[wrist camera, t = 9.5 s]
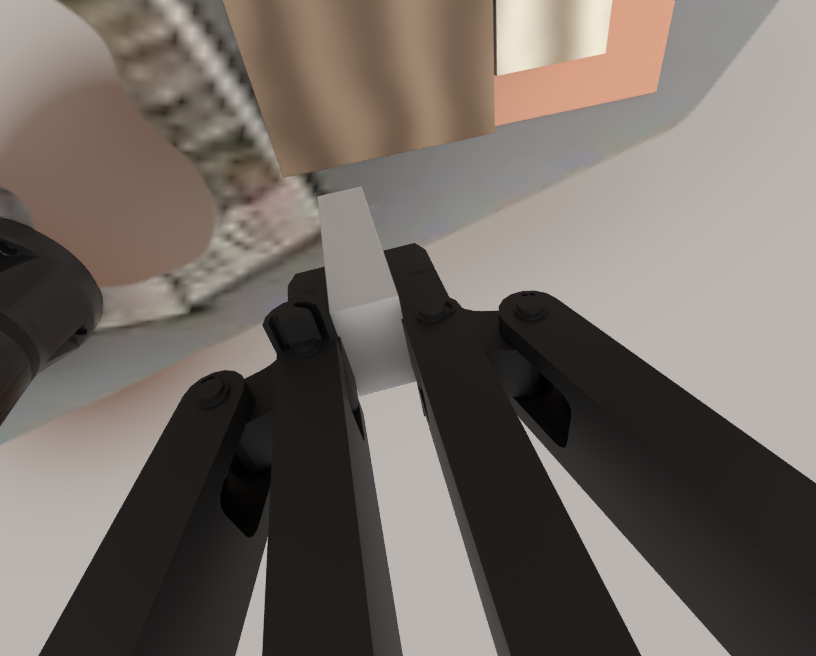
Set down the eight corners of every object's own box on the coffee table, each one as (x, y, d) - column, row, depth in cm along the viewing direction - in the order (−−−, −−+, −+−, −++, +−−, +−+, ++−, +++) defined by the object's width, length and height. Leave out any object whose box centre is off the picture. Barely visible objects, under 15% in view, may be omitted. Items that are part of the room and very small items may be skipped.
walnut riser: (286, 162, 38) (283, 177, 35) (217, -44, 29) (206, -48, 26) (480, 121, 38) (494, 132, 35) (473, -94, 29) (491, -103, 26)
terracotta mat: (486, 125, 39) (488, 127, 38) (479, -105, 29) (482, -106, 29) (652, 90, 39) (656, 91, 39) (700, -147, 30) (706, -150, 29)
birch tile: (487, 71, 35) (497, 75, 33) (485, -21, 31) (495, -22, 30) (589, 49, 36) (605, 53, 34) (600, -44, 32) (618, -46, 30)
